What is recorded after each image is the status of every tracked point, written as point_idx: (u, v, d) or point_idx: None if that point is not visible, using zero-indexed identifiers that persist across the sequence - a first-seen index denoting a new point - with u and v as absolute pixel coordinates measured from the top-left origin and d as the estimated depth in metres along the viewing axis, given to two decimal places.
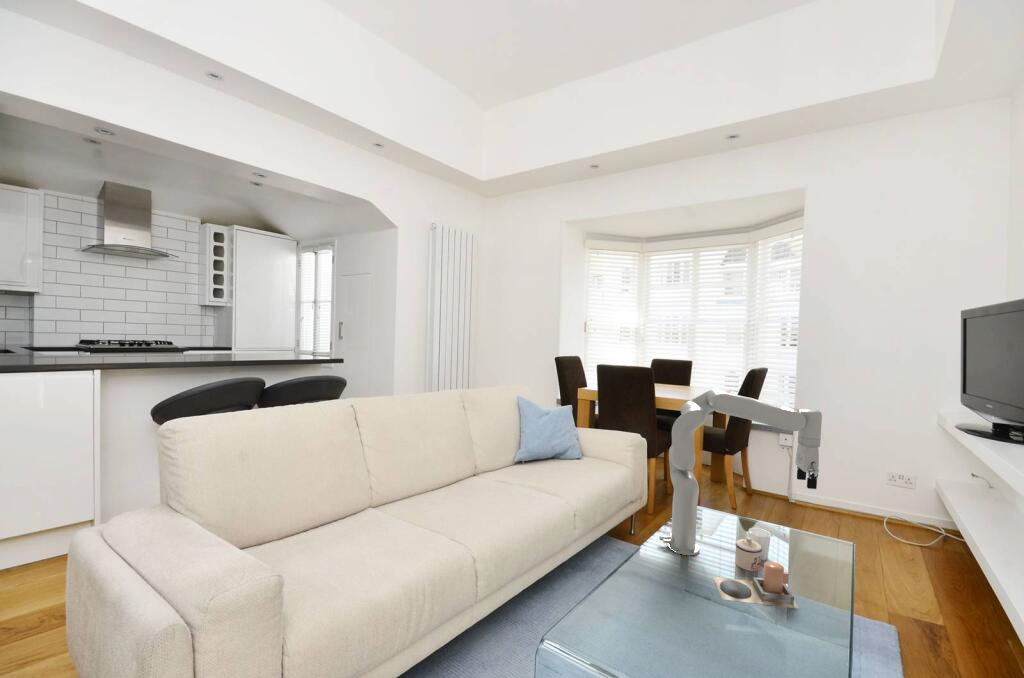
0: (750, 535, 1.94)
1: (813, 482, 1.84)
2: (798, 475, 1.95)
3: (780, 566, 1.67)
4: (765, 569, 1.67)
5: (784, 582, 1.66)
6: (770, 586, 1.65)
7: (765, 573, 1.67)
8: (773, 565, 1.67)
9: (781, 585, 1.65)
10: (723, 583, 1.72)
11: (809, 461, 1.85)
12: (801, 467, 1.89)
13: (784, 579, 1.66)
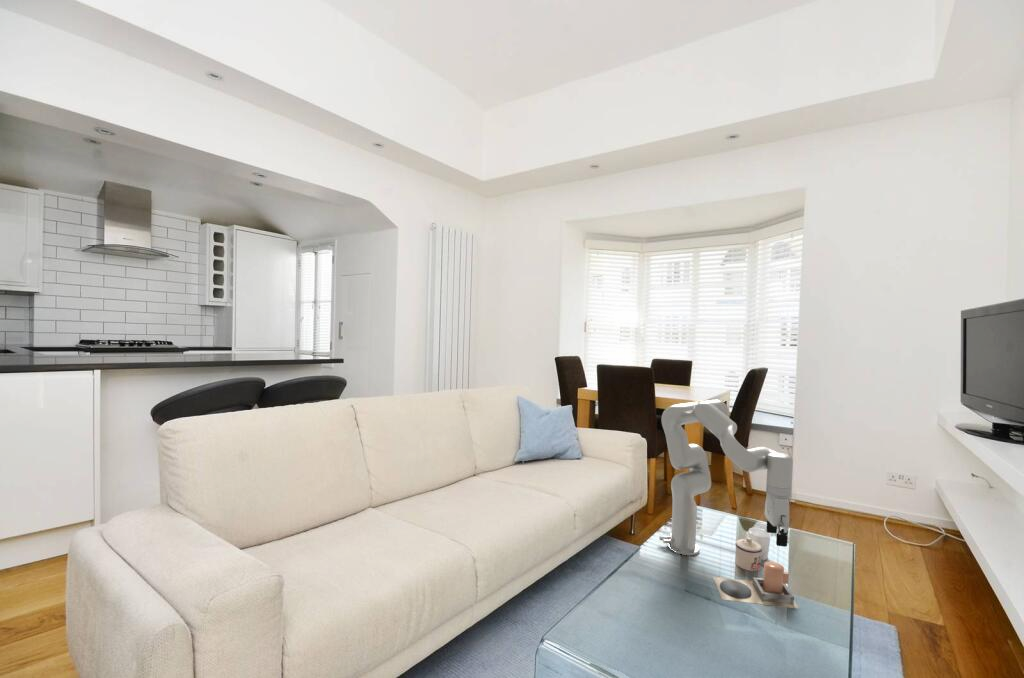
0: (750, 535, 1.94)
1: (783, 539, 1.60)
2: (768, 528, 1.71)
3: (780, 566, 1.67)
4: (765, 569, 1.67)
5: (784, 582, 1.66)
6: (770, 586, 1.65)
7: (765, 573, 1.67)
8: (773, 565, 1.67)
9: (781, 585, 1.65)
10: (723, 583, 1.72)
11: (778, 514, 1.61)
12: (770, 520, 1.64)
13: (784, 579, 1.66)
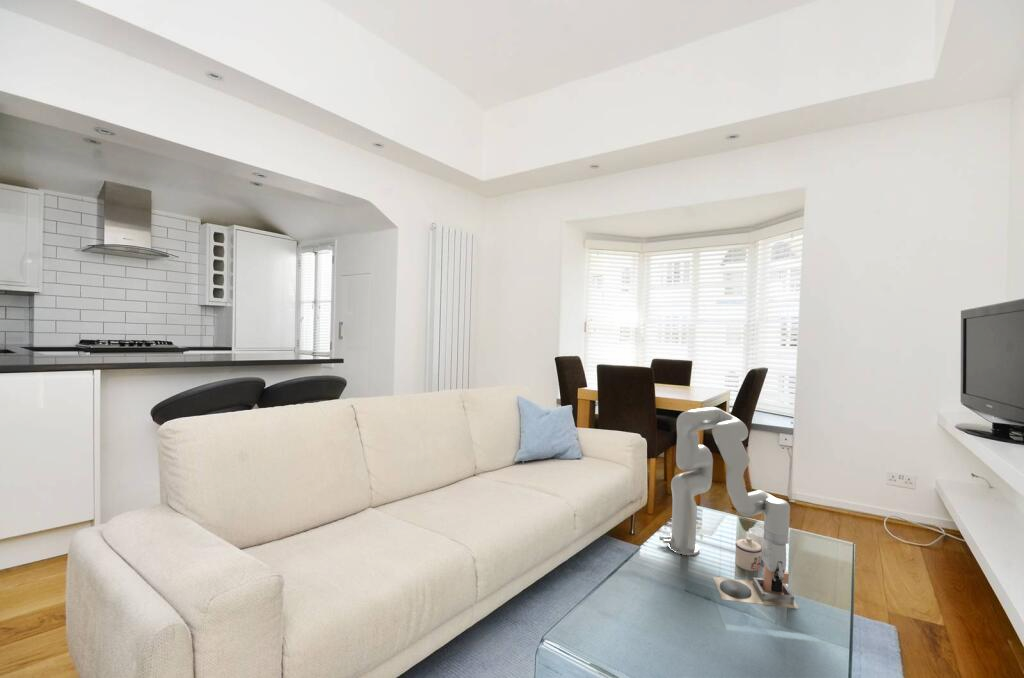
0: (750, 535, 1.94)
1: (778, 585, 1.63)
2: None
3: None
4: (765, 569, 1.67)
5: (784, 582, 1.66)
6: (770, 586, 1.65)
7: (765, 573, 1.67)
8: None
9: None
10: (723, 583, 1.72)
11: (775, 561, 1.62)
12: (767, 565, 1.66)
13: (784, 579, 1.66)
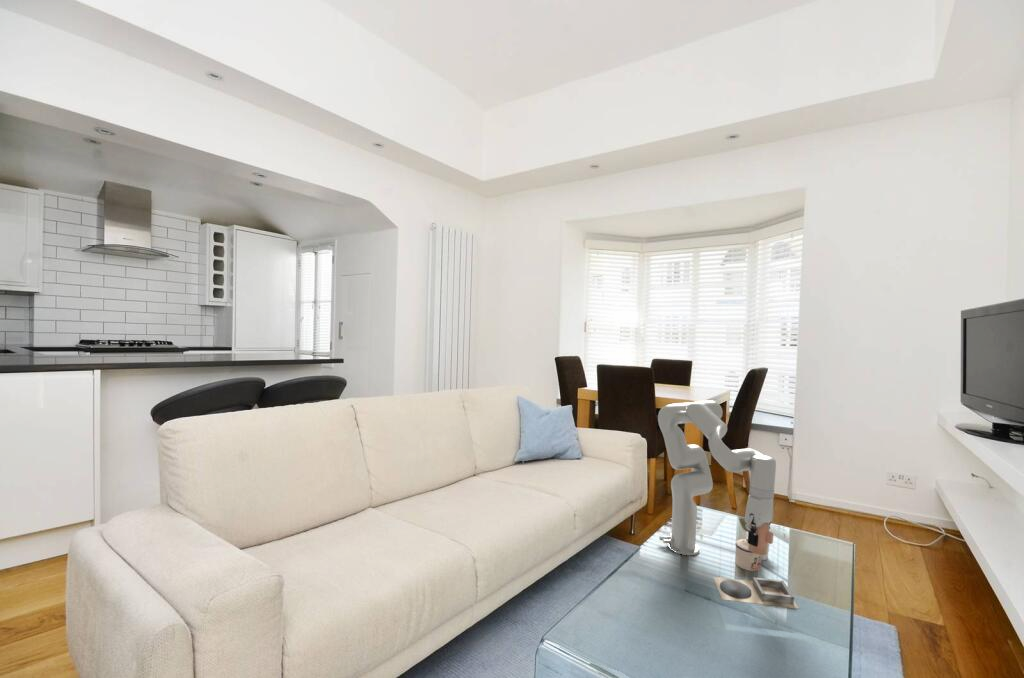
0: None
1: (752, 538, 1.65)
2: None
3: (766, 524, 1.66)
4: None
5: (767, 541, 1.64)
6: None
7: None
8: None
9: (760, 541, 1.65)
10: (723, 583, 1.72)
11: (748, 512, 1.65)
12: None
13: (767, 538, 1.64)
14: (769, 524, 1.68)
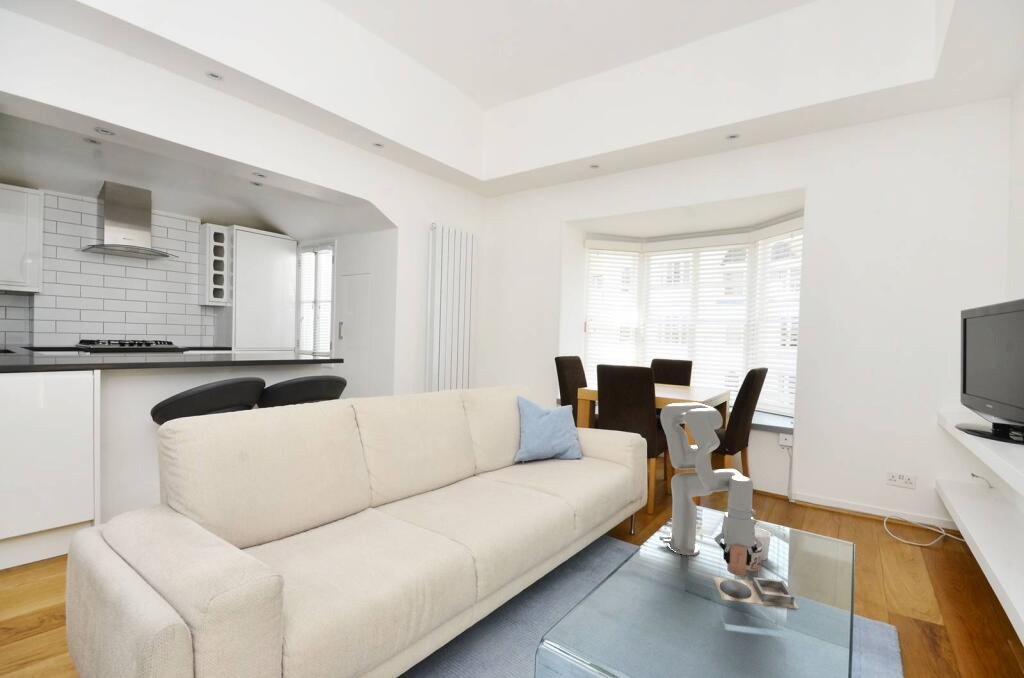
0: None
1: (724, 554, 1.70)
2: None
3: (740, 546, 1.66)
4: None
5: (738, 562, 1.66)
6: None
7: None
8: None
9: (731, 560, 1.68)
10: (723, 583, 1.72)
11: (722, 527, 1.71)
12: None
13: (738, 559, 1.66)
14: (751, 549, 1.67)
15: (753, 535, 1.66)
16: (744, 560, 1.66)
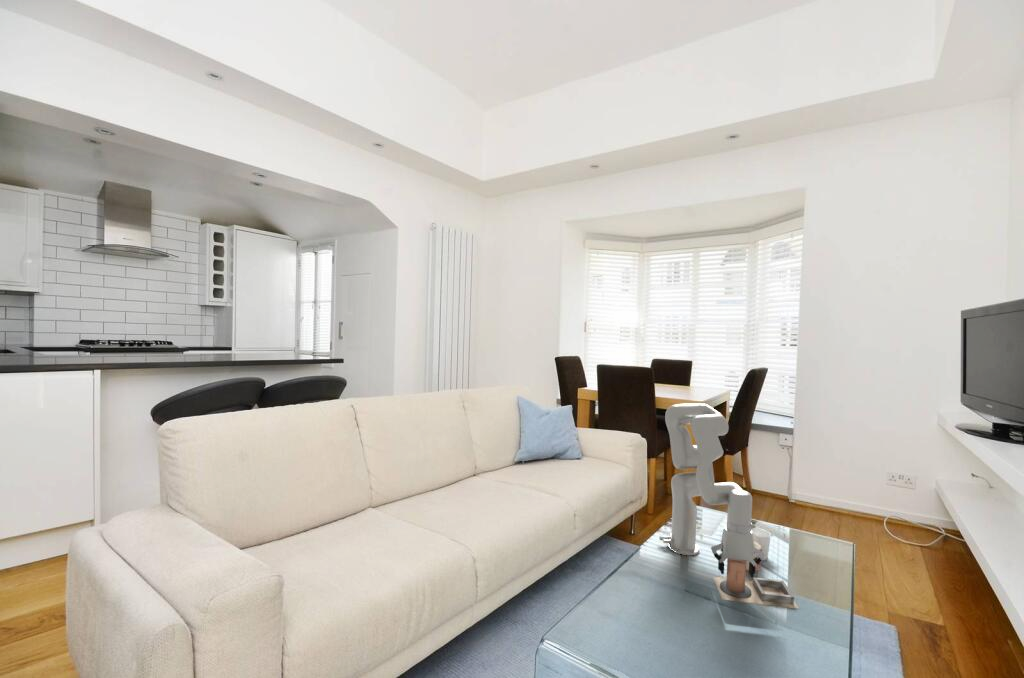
0: None
1: (719, 564, 1.70)
2: (749, 568, 1.70)
3: (739, 564, 1.67)
4: None
5: (736, 579, 1.66)
6: None
7: None
8: (737, 560, 1.69)
9: (730, 577, 1.68)
10: (723, 583, 1.72)
11: (721, 541, 1.71)
12: None
13: (737, 576, 1.66)
14: (754, 561, 1.67)
15: (752, 549, 1.66)
16: (743, 578, 1.67)
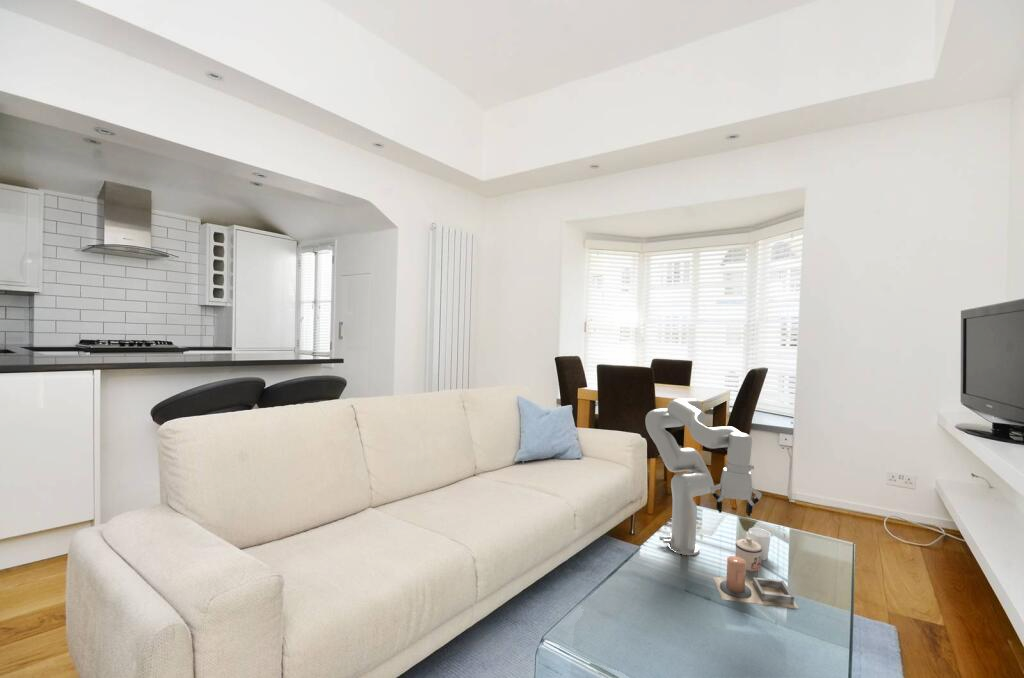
0: (750, 535, 1.94)
1: (717, 503, 1.76)
2: (746, 508, 1.75)
3: (739, 563, 1.67)
4: None
5: (736, 579, 1.66)
6: None
7: None
8: (737, 560, 1.69)
9: (730, 577, 1.68)
10: (723, 583, 1.72)
11: (720, 481, 1.76)
12: None
13: (736, 576, 1.66)
14: (751, 500, 1.72)
15: (750, 489, 1.71)
16: (743, 578, 1.67)
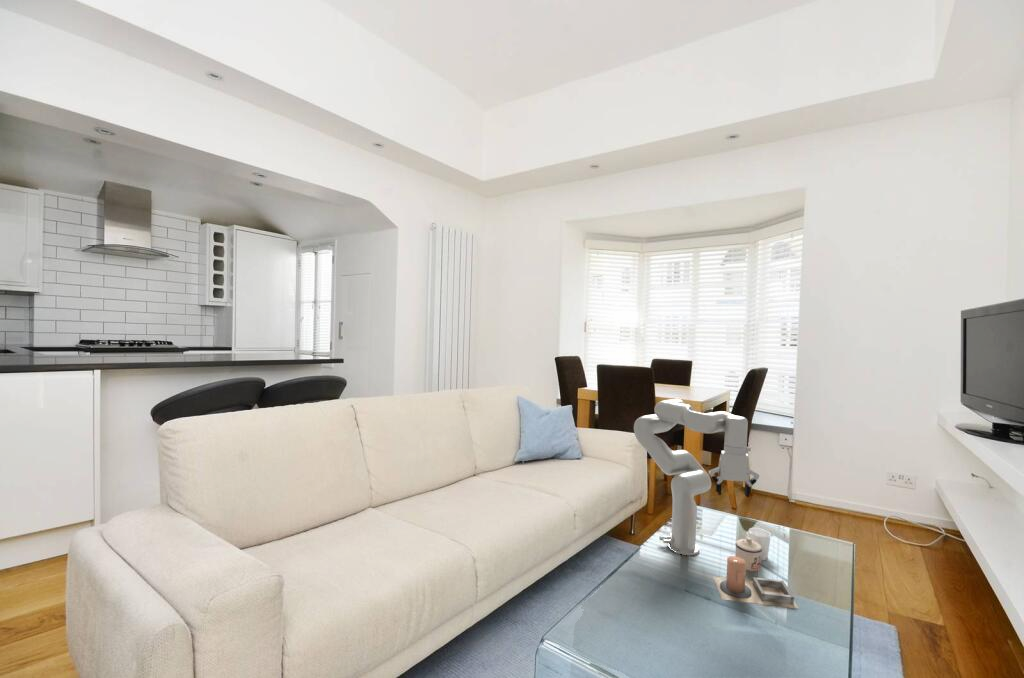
0: (750, 535, 1.94)
1: (716, 486, 1.81)
2: (745, 490, 1.81)
3: (739, 563, 1.67)
4: None
5: (736, 579, 1.66)
6: None
7: None
8: (737, 560, 1.69)
9: (730, 577, 1.68)
10: (723, 583, 1.72)
11: (719, 464, 1.82)
12: None
13: (736, 576, 1.66)
14: (749, 481, 1.78)
15: (748, 470, 1.77)
16: (743, 578, 1.67)
